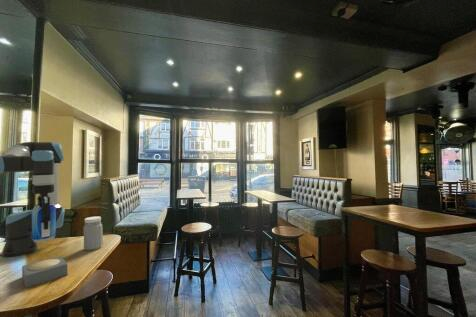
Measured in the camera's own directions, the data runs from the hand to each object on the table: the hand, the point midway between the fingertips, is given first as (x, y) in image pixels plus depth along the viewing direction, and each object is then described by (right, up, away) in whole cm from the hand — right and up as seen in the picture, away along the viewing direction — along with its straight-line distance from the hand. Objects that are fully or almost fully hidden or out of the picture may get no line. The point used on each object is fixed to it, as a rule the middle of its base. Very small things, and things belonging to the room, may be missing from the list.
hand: (44, 234), depth 103 cm
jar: (+1, -19, +33) cm, 38 cm away
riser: (+1, -19, 0) cm, 19 cm away
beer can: (0, -3, 0) cm, 3 cm away
